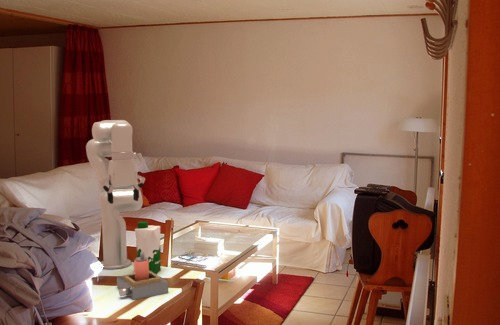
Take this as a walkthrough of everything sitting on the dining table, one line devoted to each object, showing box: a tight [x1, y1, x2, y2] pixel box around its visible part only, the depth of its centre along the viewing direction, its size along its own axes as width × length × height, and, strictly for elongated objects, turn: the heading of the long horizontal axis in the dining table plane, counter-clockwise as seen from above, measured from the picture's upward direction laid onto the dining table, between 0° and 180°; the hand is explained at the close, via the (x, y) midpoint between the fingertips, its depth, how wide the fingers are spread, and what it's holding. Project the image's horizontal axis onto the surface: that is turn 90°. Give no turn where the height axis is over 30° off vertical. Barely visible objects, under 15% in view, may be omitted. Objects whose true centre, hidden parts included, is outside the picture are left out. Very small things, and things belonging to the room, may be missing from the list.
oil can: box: [133, 252, 149, 281], centre depth 195 cm, size 5×5×13 cm
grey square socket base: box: [116, 271, 169, 301], centre depth 195 cm, size 16×16×5 cm
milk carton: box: [134, 220, 162, 274], centre depth 217 cm, size 9×9×20 cm
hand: (123, 201), depth 205 cm, fingers open, 9 cm apart
